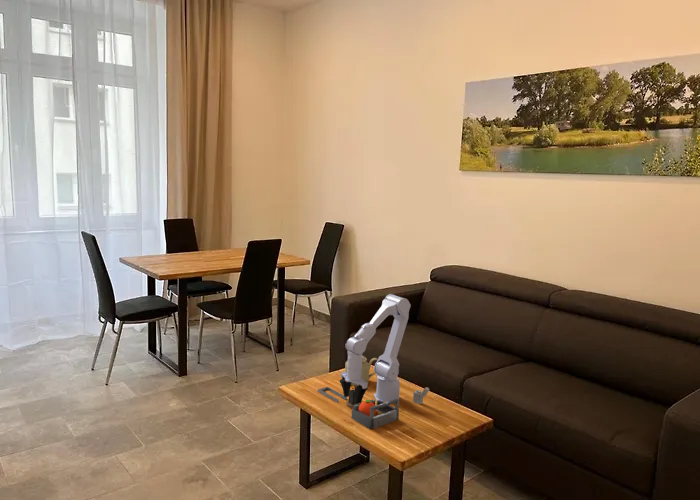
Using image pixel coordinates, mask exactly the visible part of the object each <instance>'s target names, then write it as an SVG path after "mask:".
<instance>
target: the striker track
mask: <svg viewBox="0 0 700 500" xmlns="http://www.w3.org/2000/svg"><path fill="white" fill-rule="evenodd" d="M325 391H329V392H330V393H332V394H334V395H336V396H338V397H340V398H342V399H343V400H348V397H344V394H343V393H340V392H339V391H337V390H335V389H333V388H331V387H329V386H324V387H321V388H317V392H318V393H319V392H320V393H319V394H321V395H323V396H324V397H326V398H329V399H330V400H332V401H334V402H336V403H339V401H340V399H339V398H336V397H334V396H333V395H331V394H330V393H327V392H325Z"/></svg>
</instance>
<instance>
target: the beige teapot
mask: <svg viewBox="0 0 700 500" xmlns="http://www.w3.org/2000/svg"><path fill="white" fill-rule="evenodd" d="M367 360H368V359H367V358H366V356H364V355H362V368H361V378H362V379H363V380H364V381H365V382H366V383H368V384H369V380H370V379H371V377H373V376H375V375H376V373H375V371H374V370H373V371H372V373H370V370H371V365H372V363H373V362H374V361H376V362H377V361H378V358H377V357H373V358H371V359H370V360H369V362H368V361H367ZM347 364H348V360H346V361H345V365H344V366H345V367H344V372H346V373H347ZM351 386H354V387H357V386H358V385H357V384H355V383H351Z"/></svg>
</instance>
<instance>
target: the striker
mask: <svg viewBox="0 0 700 500" xmlns="http://www.w3.org/2000/svg"><path fill="white" fill-rule="evenodd" d="M347 400H348V401H346V406H347V407H348V408H350V409H352V408H356V409H359V406H360V404H361V403H362V402H361V403H359V404H357V403H356V392H355V389H354V388H353V389H350V390H349V396H348V399H347ZM369 400H370V401H371V402H372V403H374V405H375V406H376V399H369Z"/></svg>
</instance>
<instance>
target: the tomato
mask: <svg viewBox="0 0 700 500" xmlns="http://www.w3.org/2000/svg"><path fill="white" fill-rule="evenodd" d="M370 400H371V399H366V400H364V401H362V402H361V404H360V403H359V404H360V406H359V409H358V410H359V411H361V412H363V413H365V414H367V415H368V416H370V407H372V406H376V404H375V405H374V403H372V402H371V401H370ZM376 413H377V409H376V410H374V416H376V415H377V414H376Z"/></svg>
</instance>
